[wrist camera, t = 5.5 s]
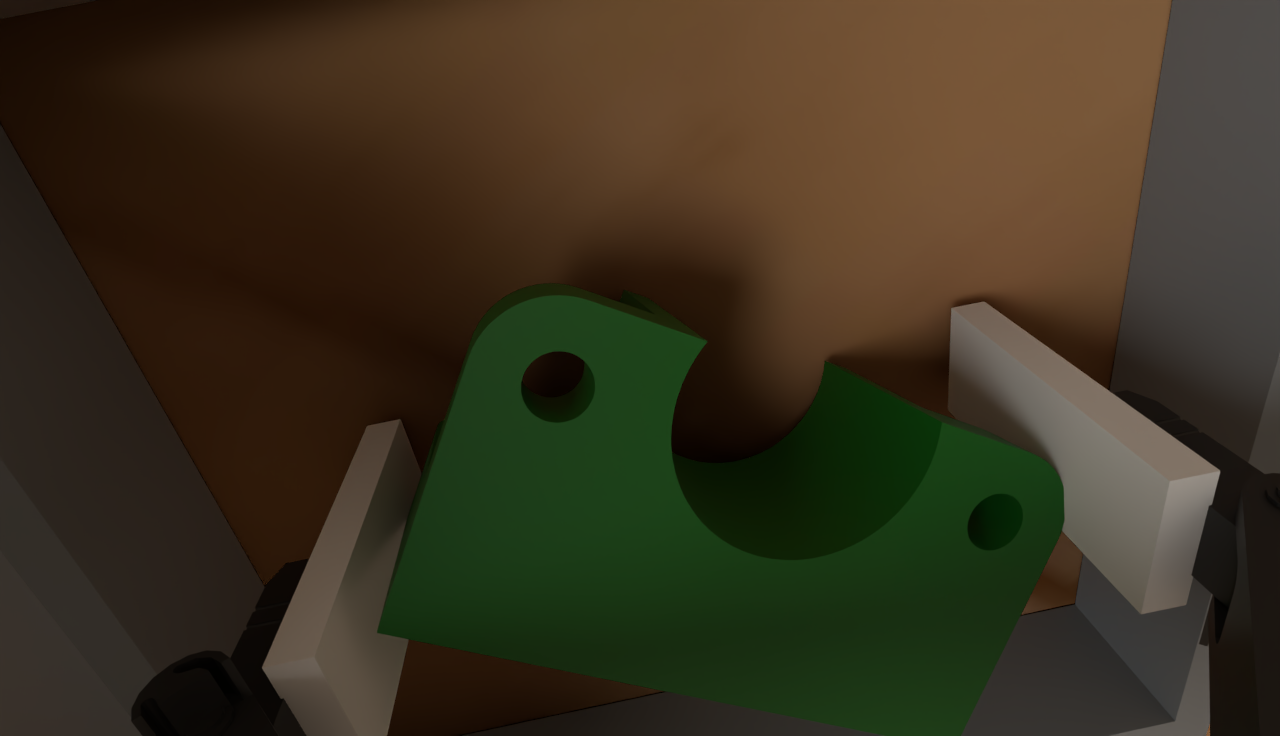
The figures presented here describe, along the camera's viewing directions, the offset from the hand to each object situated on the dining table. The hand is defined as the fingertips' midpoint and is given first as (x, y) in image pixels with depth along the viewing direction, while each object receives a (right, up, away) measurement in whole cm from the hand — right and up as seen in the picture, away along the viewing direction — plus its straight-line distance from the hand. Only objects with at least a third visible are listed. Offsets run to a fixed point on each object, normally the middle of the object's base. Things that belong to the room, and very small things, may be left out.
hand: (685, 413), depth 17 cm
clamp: (0, 0, +1) cm, 1 cm away
